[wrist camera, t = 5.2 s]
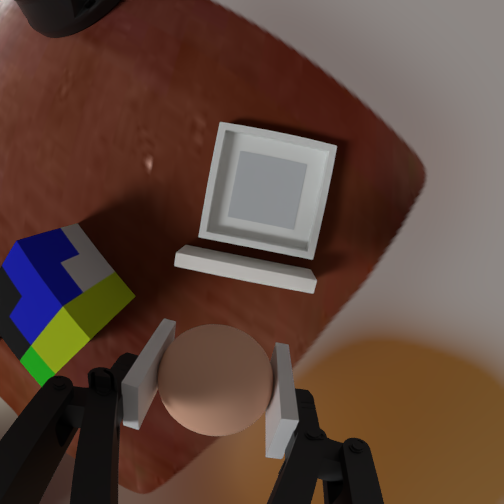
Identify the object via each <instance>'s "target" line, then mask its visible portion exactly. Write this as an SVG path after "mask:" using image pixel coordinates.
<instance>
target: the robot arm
mask: <svg viewBox="0 0 504 504" xmlns="http://www.w3.org/2000/svg"><path fill="white" fill-rule="evenodd" d="M15 1H16V2H17V4H18V6H19V7H20V9H21V11H22V12H23V14H24V15H25V17H26V18H27V20H28V22H29V24H30V26H31V27H32V28H33V29H34V30H36V31H37V32H39V33H41V34H43V35H44V36H47V37H50V38H60V37H65V36H69V35H72V34H74V33H77V32H79V31H81V30H83V29H85V28H86V27H88V26H90V25H91V24H93V23H95V22H96V21H97V20H99V19H100V18H101V17H103V16H104V15H105V14H106V13H108V12H109V11H110V10H111V9H112V8H113V7H114V6H115V5H116V4H117V3H118V2H119V1H120V0H15ZM175 326H176V321H172V320H168V319H163V320H162V322H161V323H160V325H159V326H158V328H157V329H156V331H155V332H154V334H153V335H152V337H151V338H150V340H149V341H148V343H147V344H146V346H145V347H144V349H143V350H142V352H141V353H140V355H139V356H137V355H134V354H131V353H125V354H123V355H121V356H120V357H119V358H118V359H117V361H116V363H114V365H113V366H112V367H111V369H108V368H103V367H98V368H94V369H92V370H90V371H89V373H88V382H89V388H82V387H75V386H73V384H72V381H71V380H70V379H69V378H67V377H64V376H53V377H51V378H49V379H48V380H47V381H46V382H45V384H44V385H43V386H42V387H41V389H40V390H39V391H38V392H37V394H36V395H35V396H34V397H33V399H32V400H31V401H30V402H29V404H28V405H27V406H26V407H25V409H24V410H23V411H22V413H21V414H20V415H19V416H18V418H17V419H16V420H15V422H14V423H13V424H12V426H11V427H10V428H9V430H8V431H7V432H6V434H5V435H4V436H3V438H2V439H1V441H0V504H39V502H40V501H41V498H42V496H43V494H44V492H45V490H46V488H47V486H48V485H49V483H50V481H51V479H52V477H53V474H54V473H55V471H56V469H57V467H58V465H59V463H60V461H61V459H62V458H63V456H64V454H65V452H66V450H67V448H68V446H69V445H70V443H71V441H72V439H73V437H74V435H75V434H76V432H77V430H78V428H81V429H80V435H79V440H78V446H77V452H76V459H75V466H74V473H73V481H72V489H71V499H70V504H118V463H119V439H120V423H121V421H122V419H123V425H125V426H128V427H131V428H134V429H137V430H139V428H140V426H141V424H142V421H143V419H144V417H145V415H146V413H147V411H148V409H149V406H150V404H151V402H152V400H153V398H154V396H155V394H156V391H157V389H158V369H159V364H160V361H161V359H162V356H163V354H164V352H165V351H166V349H167V348H168V346H169V345H170V344H171V343H172V342H173V341H174V335H175ZM270 363H271V367H272V371H273V379H274V382H273V392H272V396H271V399H270V402H269V404H268V406H267V408H266V457H269V458H278V459H282V457H283V455H284V453H285V461H284V463H283V465H282V467H281V469H280V471H279V475H278V478H277V480H276V483H275V485H274V488H273V490H272V493H271V495H270V497H269V500H268V502H267V504H311V500H312V497H313V493H314V489H315V486H316V482H317V478H319V479H322V480H323V492H324V504H384V502H383V498H382V493H381V489H380V486H379V481H378V477H377V473H376V470H375V466H374V462H373V458H372V454H371V451H370V448H369V446H368V444H367V443H366V442H365V441H363V440H361V439H358V438H349V439H347V440H345V442H344V443H340V442H337V441H334V440H331V439H329V438H327V437H326V434H325V432H324V431H323V430H322V429H320V427H319V422H318V417H317V413H316V410H315V409H316V408H315V404H314V398H313V396H312V394H311V393H310V392H309V391H308V390H303V389H295V387H294V380H293V373H292V366H291V359H290V352H289V345H288V344H282V343H276V344H275V347H274V351H273V354H272V358H271V361H270Z"/></svg>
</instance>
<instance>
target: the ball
mask: <svg viewBox="0 0 504 504" xmlns="http://www.w3.org/2000/svg"><path fill="white" fill-rule="evenodd" d="M273 382H274V379H273V371H272V367H271V363H270V361H269V359H268V357H267V354H266V353H265V351H264V350H263V348H262V347H261V346H260V345H259V344H258V343H257V342H256V341H255V340H254V339H253V338H252V337H251V336H249V335H248V334H246V333H244V332H243V331H241V330H238V329H236V328H233V327H230V326H226V325H217V324H210V325H202V326H198V327H195V328H192V329H190V330H188V331H186V332H184V333H182V334H181V335H180V336H178V337H177V338H176V339H175V340H174V341H173V342H172V343H171V344H170V345H169V346H168V348H167V349H166V351H165V352H164V354H163V356H162V359H161V361H160V364H159V369H158V389H159V393H160V396H161V399H162V402H163V404H164V405H165V407H166V409H167V410H168V412H169V413H170V414H171V415H172V417H173V418H174V419H176V420H177V421H178V422H179V423H180V424H181V425H183V426H184V427H186V428H188V429H190V430H192V431H194V432H197V433H200V434H204V435H209V436H224V435H230V434H234V433H237V432H239V431H242V430H244V429H246V428H247V427H248V426H250V425H252V424H253V423H254V422H256V421H257V420H258V418H259V417H260V416H261V415H262V414H263V413H264V411H265V410H266V408H267V406H268V404H269V402H270V399H271V396H272V392H273Z"/></svg>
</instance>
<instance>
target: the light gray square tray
mask: <svg viewBox="0 0 504 504" xmlns="http://www.w3.org/2000/svg"><path fill="white" fill-rule="evenodd" d="M336 149H337V146H336V145H332V144H328V143H324V142H320V141H316V140H312V139H307V138H303V137H299V136H294V135H289V134H285V133H280V132H275V131H270V130H265V129H259V128H254V127H248V126H243V125H237V124H230V123H224V122H220V124H219V129H218V134H217V139H216V144H215V149H214V154H213V159H212V164H211V169H210V174H209V179H208V185H207V190H206V196H205V201H204V207H203V213H202V218H201V224H200V230H199V236H198V237H200V238H205V239H210V240H215V241H220V242H225V243H230V244H236V245H241V246H246V247H251V248H256V249H261V250H266V251H271V252H276V253H281V254H286V255H291V256H296V257H301V258H306V259H311V260H313V257H314V253H315V249H316V245H317V240H318V236H319V232H320V227H321V223H322V218H323V214H324V209H325V204H326V200H327V195H328V190H329V185H330V180H331V175H332V170H333V165H334V160H335V155H336Z"/></svg>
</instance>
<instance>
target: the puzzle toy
mask: <svg viewBox="0 0 504 504" xmlns="http://www.w3.org/2000/svg"><path fill="white" fill-rule="evenodd" d="M135 297H136V296H135V295H134V294H133V292H132V291H131V290H130V289H129V288H128V287H127V285H126V284H125V283H124V282H123V281H122V279H121V278H120V277H119V276H118V275H117V273H116V272H115V271H114V270H113V269H112V267H111V266H110V265H109V264H108V262H107V261H106V260H105V259H104V257H103V256H102V255H101V254H100V252H99V251H98V250H97V248H96V247H95V246H94V245H93V243H92V242H91V241H90V239H89V238H88V237H87V235H86V234H85V233H84V231H83V230H82V229H81V227H80V226H79V225H78V223H77V224H73V225H70V226H66V227H62V228H59V229H55V230H51V231H48V232H44V233H41V234H37V235H34V236H30V237H27V238H24V239H20V240H17V241H16V242H15V244H14V246H13V247H12V249H11V251H10V252H9V254H8V256H7V257H6V259H5V261H4V263H3V264H2V266H1V268H0V335H1V337H2V338H3V340H4V341H5V342H6V344H7V345H8V346H9V348H10V349H11V350H12V352H13V353H14V354H15V355H16V357H17V358H18V359H19V360H20V362H21V363H22V364H23V365H24V367H25V368H26V369H27V370H28V371H29V373H30V374H31V375H32V376H33V377H34V378H35V380H36V381H37V382H38V383H39V384H40V385H41V386H43V385H44V384H45V382H46V381H47V380H48V379H49V378H51V377H53V376H54V375H55V374H56V373H57V372H58V371H59V370H60V369H61V368H62V367H63V366H64V365H65V364H66V363H67V362H68V361H69V360H70V359H71V358H72V357H73V356H74V355H75V354H76V353H77V352H78V351H79V350H80V349H81V348H82V347H83V346H84V345H85V344H86V343H87V342H89V341H90V340H91V339H92V338H93V337H94V336H95V335H96V334H97V333H98V332H99V331H100V330H101V329H102V328H103V327H104V326H105V325H106V324H107V323H108V322H109V321H110V320H111V319H112V318H113V317H114V316H115V315H117V314H118V313H119V312H120V311H121V310H122V309H123V308H124V307H125V306H126V305H127V304H128V303H129V302H130V301H131V300H132V299H134V298H135Z"/></svg>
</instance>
